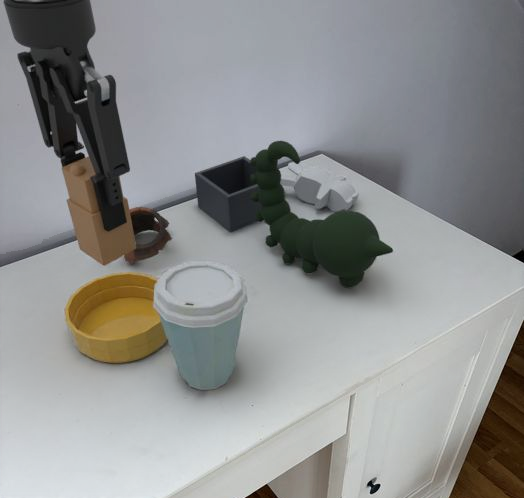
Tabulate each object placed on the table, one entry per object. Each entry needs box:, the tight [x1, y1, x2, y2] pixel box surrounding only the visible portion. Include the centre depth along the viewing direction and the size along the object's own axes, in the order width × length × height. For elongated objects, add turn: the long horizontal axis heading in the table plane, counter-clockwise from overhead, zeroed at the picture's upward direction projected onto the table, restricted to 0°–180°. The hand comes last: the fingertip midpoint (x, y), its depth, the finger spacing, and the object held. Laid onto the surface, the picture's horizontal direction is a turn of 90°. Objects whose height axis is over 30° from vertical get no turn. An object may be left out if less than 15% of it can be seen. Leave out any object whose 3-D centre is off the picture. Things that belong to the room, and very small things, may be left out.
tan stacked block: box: [61, 155, 137, 267], centre depth 66 cm, size 5×5×12 cm
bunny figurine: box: [280, 161, 360, 213], centre depth 101 cm, size 10×5×15 cm
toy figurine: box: [250, 140, 394, 289], centre depth 82 cm, size 9×19×25 cm
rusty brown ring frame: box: [123, 206, 173, 265], centre depth 91 cm, size 12×10×8 cm
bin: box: [194, 155, 262, 233], centre depth 98 cm, size 10×10×7 cm
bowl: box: [64, 271, 168, 364], centre depth 77 cm, size 14×14×4 cm
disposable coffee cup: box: [153, 260, 249, 391], centre depth 67 cm, size 11×11×15 cm
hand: (100, 216), depth 67 cm, fingers closed on tan stacked block, 5 cm apart
